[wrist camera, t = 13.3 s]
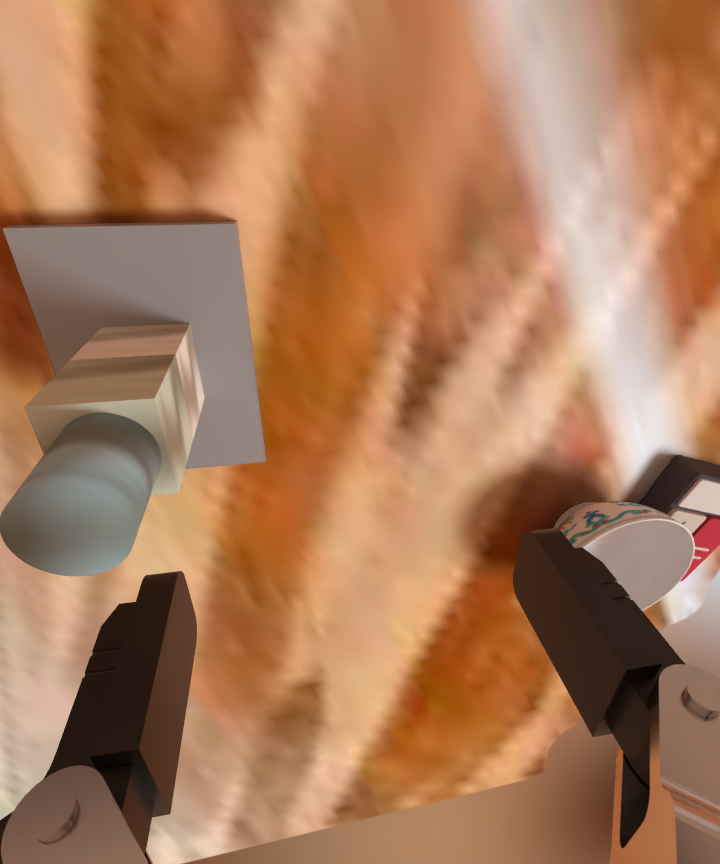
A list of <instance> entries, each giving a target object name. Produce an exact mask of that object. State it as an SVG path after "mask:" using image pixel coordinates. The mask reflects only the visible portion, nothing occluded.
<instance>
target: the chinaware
mask: <svg viewBox="0 0 720 864" xmlns="http://www.w3.org/2000/svg"><path fill="white" fill-rule="evenodd" d="M554 528H557V529H559V530H560V531H562V532H563V534H564V535H565V536H566V538H567V539H568V540H569V541H570V543H571V544H572V545H573V547H574V548H580V547H582V548H584V549H585V550H587V551H588V552H589V553H591V554H592V555H593V556H595V557H596V558H598V559H599V560H600V561H602V562H603V563H604V564H605V566H606V567H607V568H608V569H609V571H610V572H611V573H612V574H613V576H614V577H615V578H616V579H617V582H618V584H621V586H622V587H623V588H624V589H625V590H626V592H627V593H628V594H629V595H630V599H631V600H634V602H635V603H636V604H637V605H638V607H639V608H640V609H641V610H642V611H643V610H645V609H646V608H648V607H650V606H651V605H653V604H655V603H656V602H658V601H659V600H660V599H662V598H663V597H664V596H665V595H667V594H668V593H669V592H670V591H671V590H672V589H673V588H674V587H675V586H676V585H677V584H678V583H679V582H680V581H681V579H682V578H683V577H684V575H685V574H686V572H687V571H688V569H689V567H690V565H691V563H692V560H693V557H694V552H695V543H694V538H693V536H692V534H691V532H690V531H689V530H688V529H687V528H686V527H685V526H684V525H683V524H681V523H680V522H678V521H677V520H675V519H673V518H672V517H670V516H668V515H666V514H664V513H662V512H660V511H658V510H655V509H653V508H650V507H647V506H644V505H641V504H636V503H631V502H622V501H610V502H602V503H598V502H585V503H581V504H578V505H576V506H574V507H572V508H570V509H569V510H567V511H566V512H565V513H564V514H563V515H562V516H561V517H560V518H559V519H558V520H557V522H556V524H555V526H554Z"/></svg>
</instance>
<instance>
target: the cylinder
mask: <svg viewBox="0 0 720 864" xmlns="http://www.w3.org/2000/svg"><path fill="white" fill-rule="evenodd" d="M161 461H162V456H161V450H160V447H159V445H158V443H157V441H156V439H155V438H154V437H153V435H152V434H151V433H150V432H149V431H148V430H147V429H146V428H144V427H143V426H142V425H140V424H139V423H137V422H135V421H134V420H132V419H129V418H127V417H124V416H121V415H116V414H111V413H93V414H88V415H84V416H81V417H78V418H76V419H75V420H73V421H71V422H70V423H69V424H67V426H66V427H65V428H64V429H63V430H62V431H61V433H60V434H59V435H58V437H57V438H56V440H55V441H54V442H53V444H52V445H51V446H50V448H49V449H48V450H47V452H46V453H45V454H44V456H43V457H42V458H41V460H40V461H39V462H38V464H37V465H36V466H35V468H34V469H33V470H32V472H31V473H30V474H29V476H28V477H27V478H26V480H25V481H24V482H23V484H22V485H21V486H20V488H19V489H18V490H17V492H16V493H15V494H14V496H13V497H12V498H11V500H10V501H9V502H8V504H7V505H6V507H5V508H4V510H3V511H2V514H1V516H0V533H1V536H2V538H3V541H4V542H5V544H6V545H7V547H8V548H9V549H10V550H11V551H12V552H13V553H14V554H15V555H16V556H17V557H18V558H20V559H21V560H22V561H24V562H25V563H27V564H29V565H31V566H33V567H35V568H37V569H40V570H42V571H45V572H49V573H53V574H57V575H63V576H89V575H95V574H99V573H102V572H105V571H108V570H110V569H112V568H114V567H116V566H117V565H119V564H120V563H121V562H122V561H123V560H125V558H126V557H127V556H128V555H129V553H130V551H131V549H132V547H133V544H134V541H135V538H136V535H137V532H138V529H139V527H140V524H141V521H142V518H143V515H144V512H145V509H146V507H147V504H148V501H149V498H150V495H151V492H152V489H153V487H154V484H155V481H156V478H157V475H158V472H159V469H160V467H161Z"/></svg>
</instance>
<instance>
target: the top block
mask: <svg viewBox="0 0 720 864" xmlns="http://www.w3.org/2000/svg"><path fill="white" fill-rule="evenodd" d="M24 408H25V410H26V413H27V415H28V418H29V420H30V422H31V425H32V427H33V430H34V432H35V434H36V437H37V439H38V442H39V444H40V446H41V449H42V451H43V453H44V454H45V453H46V452H47V450H48V449H49V448H50V446H51V445H52V444H53V442H54V441H55V440H56V438H57V437H58V435H59V434H60V433H61V431H62V430H63V429H64V428H65V427H66V426H67V424H69V423H70V422H71V421H73V420H75V419H76V418H78V417H81V416H84V415H88V414H93V413H111V414H116V415H121V416H124V417H127V418H129V419H132V420H134V421H135V422H137V423H139V424H140V425H142V426H143V427H144V428H146V429H147V430H148V431H149V432H150V433H151V434H152V435H153V437H154V438H155V439H156V441H157V443H158V445H159V447H160V450H161V456H162V461H161V467H160V469H159V472H158V475H157V478H156V481H155V484H154V487H153V489H152V492H151V495H150V496H154V495H164V494H174V493H179V490H180V486H181V482H182V478H183V475H184V471H185V467H186V464H187V460H188V456H189V453H190V449H191V445H192V442H193V433H192V429H191V424H190V419H189V415H188V410H187V406H186V401H185V396H184V392H183V387H182V382H181V378H180V373H179V368H178V364H177V359H176V354H170V355H152V356H134V357H116V358H99V359H81V360H69V361H68V362H67V363H66V364H65V366H64V367H63V368H62V369H61V370H60V371H59V372H58V373H57V374H56V375H55V376H54V377H53V378H52V379H51V380H50V381H49V382H48V383H47V384H46V385H45V386H44V387H43V388H42V389H41V390H40V391H39V392H38V394H37V395H36V396H35V397H34V398H33V399H32V400H31V401H30V402H29V403H28V404H27V405H26V406H25V407H24Z"/></svg>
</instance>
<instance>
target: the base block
mask: <svg viewBox="0 0 720 864" xmlns="http://www.w3.org/2000/svg"><path fill="white" fill-rule="evenodd" d="M170 354H176V359H177V364H178V368H179V373H180V378H181V382H182V387H183V392H184V396H185V401H186V406H187V410H188V415H189V419H190V424H191V429H192V433H193V438H194V435H195V431H196V428H197V424H198V420H199V417H200V413H201V409H202V405H203V402H204V393H203V388H202V383H201V377H200V372H199V367H198V362H197V356H196V351H195V346H194V341H193V335H192V330H191V325H190V323H187V324H167V325H146V326H125V327H104V328H100V329H99V330H98V332H97V333H96V334H95V335H94V336H93V337H92V338H91V339H90V340H89V341H88V342H87V343H86V344H85V345H84V346H83V347H82V348H81V349H80V350H79V351H78V352H77V353H76V354H75V355H74V356H73V357H72V359H71V360H81V359H99V358H116V357H134V356H152V355H170Z"/></svg>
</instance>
